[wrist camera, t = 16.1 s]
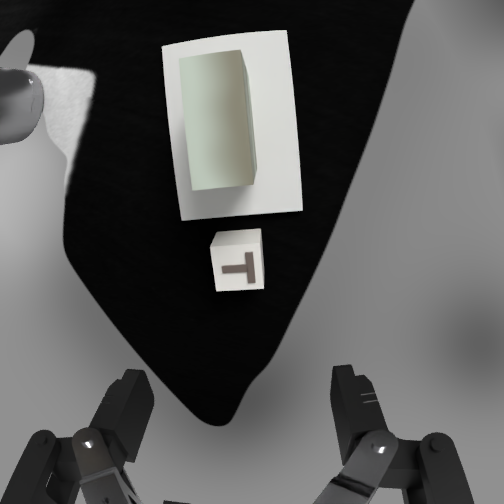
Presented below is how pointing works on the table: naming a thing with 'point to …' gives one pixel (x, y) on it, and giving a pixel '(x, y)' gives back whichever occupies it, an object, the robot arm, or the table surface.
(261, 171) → the mat
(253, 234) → the letter cube
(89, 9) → the table surface
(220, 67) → the pale green rectangular block
